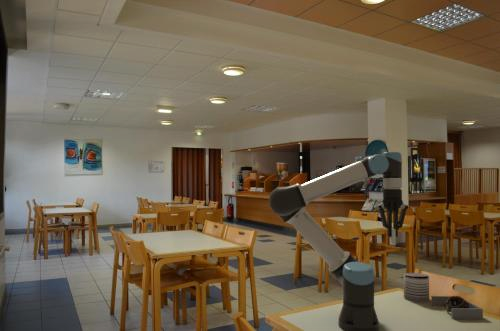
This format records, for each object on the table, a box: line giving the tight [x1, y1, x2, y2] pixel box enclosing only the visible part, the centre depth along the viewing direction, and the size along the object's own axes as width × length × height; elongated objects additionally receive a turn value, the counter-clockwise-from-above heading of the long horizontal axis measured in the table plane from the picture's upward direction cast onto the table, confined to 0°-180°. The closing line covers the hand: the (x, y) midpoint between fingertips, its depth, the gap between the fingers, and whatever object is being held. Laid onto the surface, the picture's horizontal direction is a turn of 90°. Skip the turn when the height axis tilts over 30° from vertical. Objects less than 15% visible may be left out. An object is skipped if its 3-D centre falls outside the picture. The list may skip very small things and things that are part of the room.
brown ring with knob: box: [445, 295, 469, 314], centre depth 169 cm, size 12×10×8 cm
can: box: [403, 272, 430, 304], centre depth 188 cm, size 11×11×12 cm
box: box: [431, 295, 484, 320], centre depth 170 cm, size 12×18×4 cm
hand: (392, 244), depth 166 cm, fingers closed
